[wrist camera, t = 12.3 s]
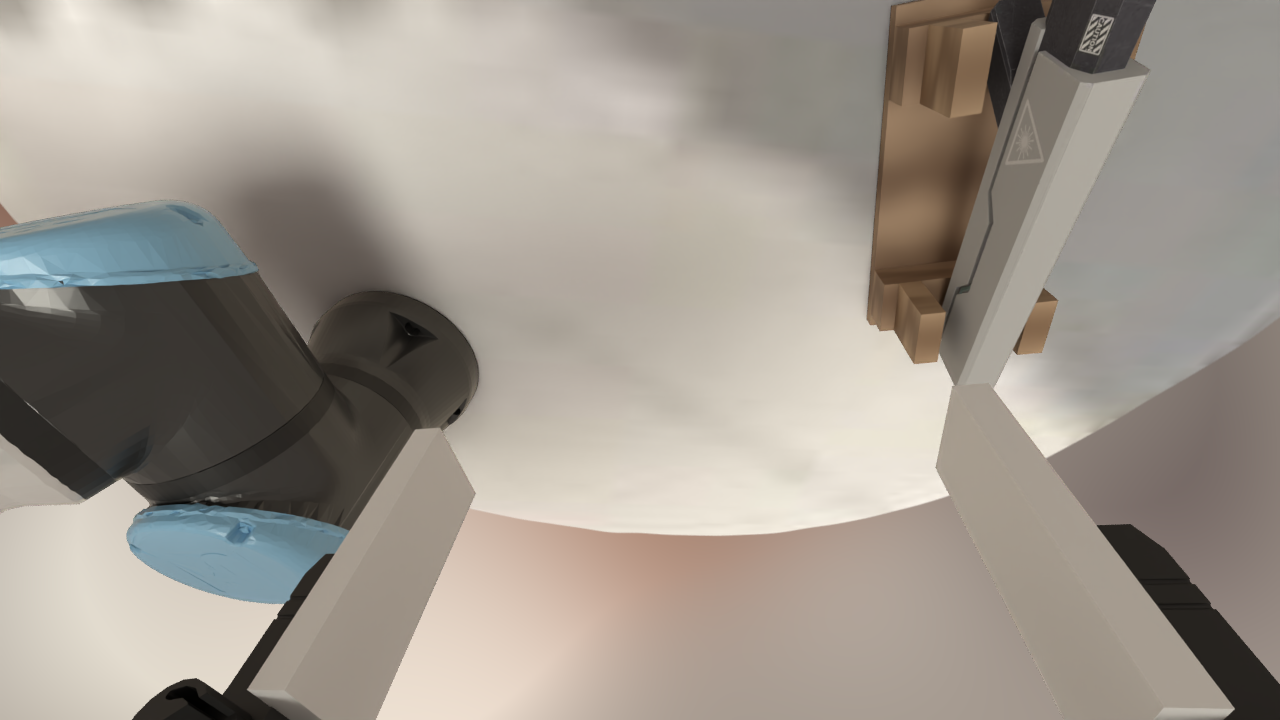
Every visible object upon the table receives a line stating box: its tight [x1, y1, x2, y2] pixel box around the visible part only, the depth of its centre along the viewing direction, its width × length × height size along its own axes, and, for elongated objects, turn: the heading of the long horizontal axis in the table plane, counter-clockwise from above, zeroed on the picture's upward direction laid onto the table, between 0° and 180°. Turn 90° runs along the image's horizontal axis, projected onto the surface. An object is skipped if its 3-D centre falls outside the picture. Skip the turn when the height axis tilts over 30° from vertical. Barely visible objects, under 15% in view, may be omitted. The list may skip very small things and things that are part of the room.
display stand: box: [867, 0, 1145, 364], centre depth 33 cm, size 22×10×8 cm, turn 10°
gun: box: [939, 0, 1156, 388], centre depth 30 cm, size 2×25×10 cm, turn 10°
